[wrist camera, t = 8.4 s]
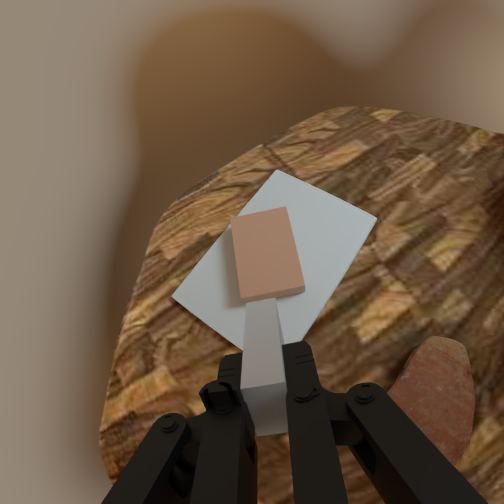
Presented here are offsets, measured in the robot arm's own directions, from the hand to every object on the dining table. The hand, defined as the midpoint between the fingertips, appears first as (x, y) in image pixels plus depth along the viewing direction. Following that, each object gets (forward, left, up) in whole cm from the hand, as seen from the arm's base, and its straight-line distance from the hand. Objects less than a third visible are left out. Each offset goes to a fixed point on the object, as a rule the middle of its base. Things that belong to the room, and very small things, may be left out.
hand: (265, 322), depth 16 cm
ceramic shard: (-6, +19, -24) cm, 31 cm away
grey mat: (-12, -10, -23) cm, 28 cm away
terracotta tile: (-6, -7, -21) cm, 23 cm away
